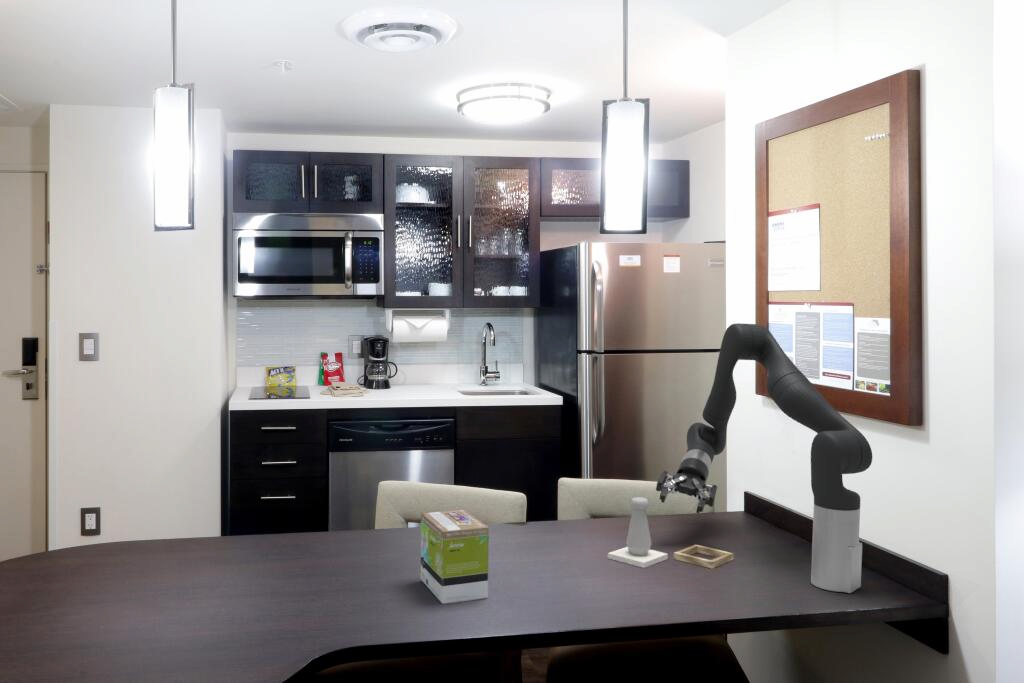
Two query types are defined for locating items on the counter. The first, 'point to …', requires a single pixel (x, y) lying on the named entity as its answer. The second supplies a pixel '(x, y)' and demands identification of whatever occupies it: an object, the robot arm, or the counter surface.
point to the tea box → (454, 556)
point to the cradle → (686, 557)
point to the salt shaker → (639, 528)
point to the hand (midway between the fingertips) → (680, 504)
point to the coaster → (637, 557)
